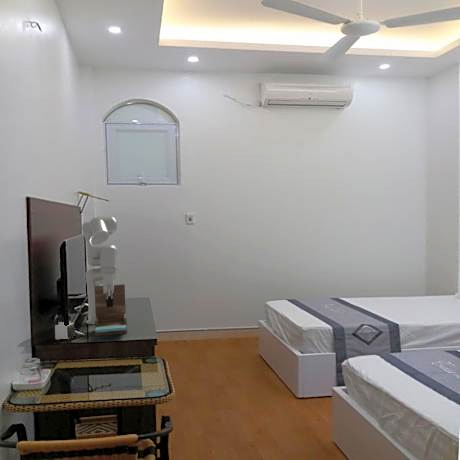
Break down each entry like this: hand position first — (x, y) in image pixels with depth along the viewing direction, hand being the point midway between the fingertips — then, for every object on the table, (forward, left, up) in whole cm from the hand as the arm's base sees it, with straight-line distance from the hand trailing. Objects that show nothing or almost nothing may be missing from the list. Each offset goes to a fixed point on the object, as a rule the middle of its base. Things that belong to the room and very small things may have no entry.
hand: (109, 306), depth 249 cm
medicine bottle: (-11, -23, -16) cm, 30 cm away
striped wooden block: (-16, 0, -16) cm, 23 cm away
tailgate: (-8, 0, -12) cm, 14 cm away
